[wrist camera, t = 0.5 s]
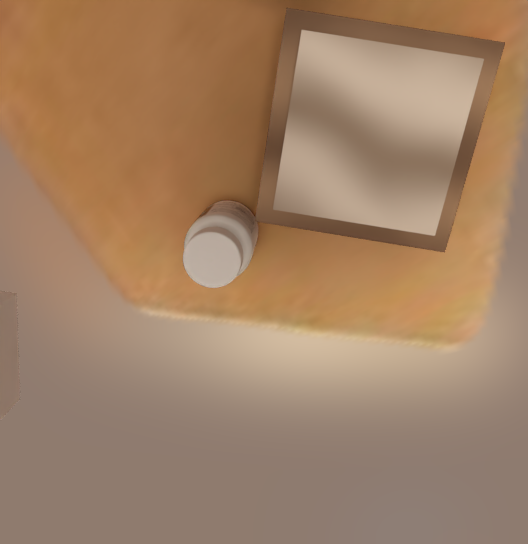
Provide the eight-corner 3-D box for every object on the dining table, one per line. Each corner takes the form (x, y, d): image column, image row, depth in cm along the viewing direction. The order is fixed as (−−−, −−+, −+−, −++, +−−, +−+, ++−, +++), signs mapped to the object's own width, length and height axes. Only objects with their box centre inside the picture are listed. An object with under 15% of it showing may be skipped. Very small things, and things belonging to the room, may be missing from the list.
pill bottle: (198, 198, 35) (172, 222, 27) (259, 200, 34) (249, 225, 27) (199, 257, 36) (175, 294, 29) (258, 259, 36) (248, 297, 28)
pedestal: (287, 22, 30) (286, 6, 26) (475, 52, 30) (508, 41, 26) (259, 207, 34) (254, 222, 30) (425, 234, 34) (446, 254, 30)
